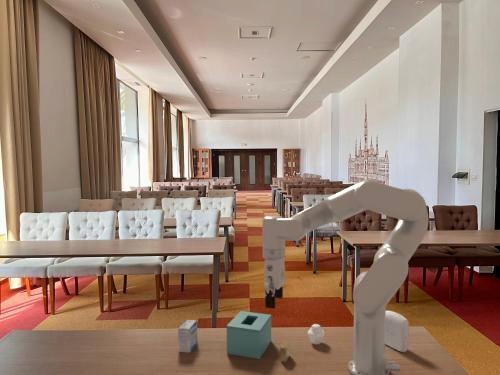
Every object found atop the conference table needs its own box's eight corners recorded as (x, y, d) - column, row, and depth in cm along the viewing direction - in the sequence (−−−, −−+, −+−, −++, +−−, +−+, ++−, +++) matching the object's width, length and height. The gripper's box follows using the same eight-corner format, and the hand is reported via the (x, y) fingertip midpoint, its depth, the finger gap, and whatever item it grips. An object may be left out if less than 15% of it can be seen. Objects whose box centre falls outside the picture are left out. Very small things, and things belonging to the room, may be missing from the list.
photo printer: (410, 350, 140) (411, 316, 139) (402, 353, 138) (403, 318, 137) (386, 339, 149) (387, 306, 148) (378, 342, 147) (379, 309, 146)
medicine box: (190, 353, 139) (189, 329, 138) (178, 352, 140) (177, 328, 139) (197, 343, 147) (197, 320, 146) (186, 342, 148) (185, 319, 147)
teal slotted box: (271, 341, 148) (271, 314, 147) (259, 359, 135) (259, 330, 134) (240, 336, 152) (240, 310, 151) (226, 353, 138) (226, 325, 138)
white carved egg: (308, 346, 143) (308, 327, 143) (306, 338, 149) (306, 320, 149) (326, 346, 143) (326, 327, 143) (323, 338, 149) (323, 320, 149)
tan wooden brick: (289, 355, 137) (289, 341, 136) (286, 362, 132) (286, 348, 132) (284, 354, 138) (284, 340, 137) (280, 362, 133) (280, 347, 132)
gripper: (278, 259, 124) (278, 313, 125) (290, 247, 141) (291, 295, 142) (255, 258, 127) (255, 310, 128) (270, 246, 143) (270, 293, 144)
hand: (274, 302), depth 135 cm, fingers open, 9 cm apart
